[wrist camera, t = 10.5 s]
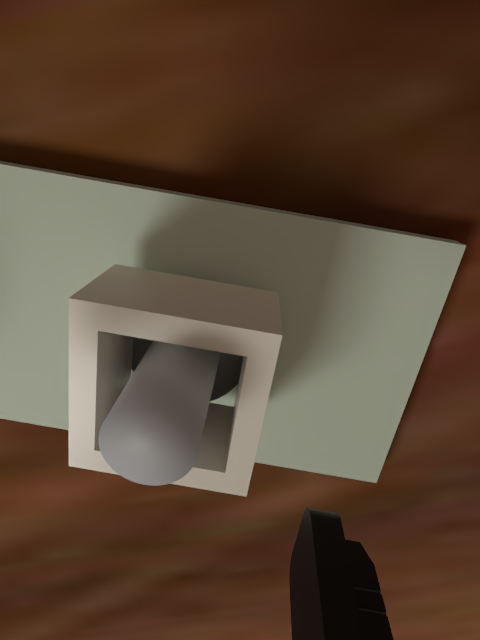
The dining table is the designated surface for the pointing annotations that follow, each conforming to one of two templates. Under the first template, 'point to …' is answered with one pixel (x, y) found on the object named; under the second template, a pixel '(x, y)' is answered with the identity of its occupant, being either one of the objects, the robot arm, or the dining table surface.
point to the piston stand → (211, 366)
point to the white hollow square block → (182, 329)
